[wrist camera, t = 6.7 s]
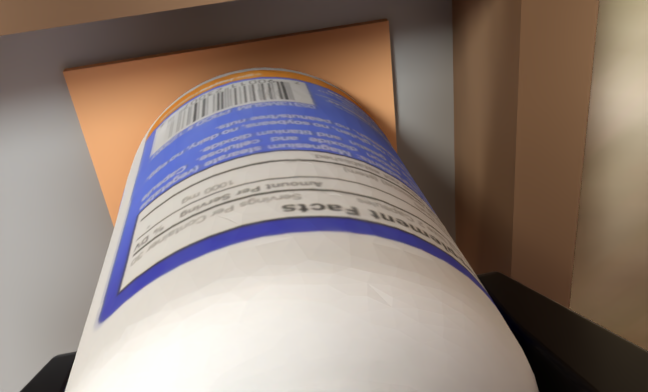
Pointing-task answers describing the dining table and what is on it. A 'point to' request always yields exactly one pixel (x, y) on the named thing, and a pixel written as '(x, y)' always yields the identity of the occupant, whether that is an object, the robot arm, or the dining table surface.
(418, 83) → the corner arena
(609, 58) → the dining table surface
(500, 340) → the pill bottle
